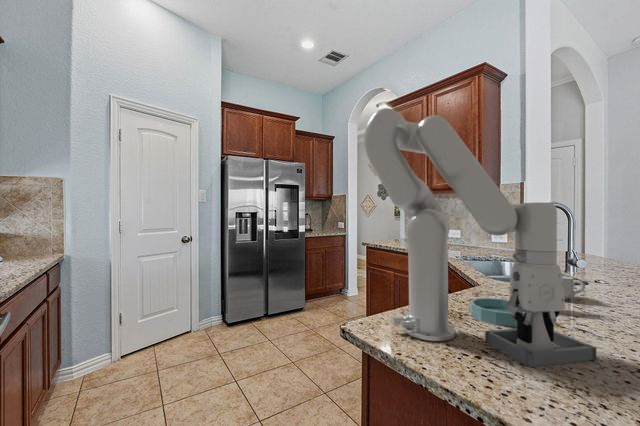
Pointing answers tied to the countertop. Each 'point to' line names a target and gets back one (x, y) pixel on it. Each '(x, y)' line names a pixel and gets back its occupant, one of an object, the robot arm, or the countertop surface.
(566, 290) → the teacup
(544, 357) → the parts tray
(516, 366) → the countertop surface
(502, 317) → the bowl
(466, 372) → the countertop surface
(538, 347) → the flask
